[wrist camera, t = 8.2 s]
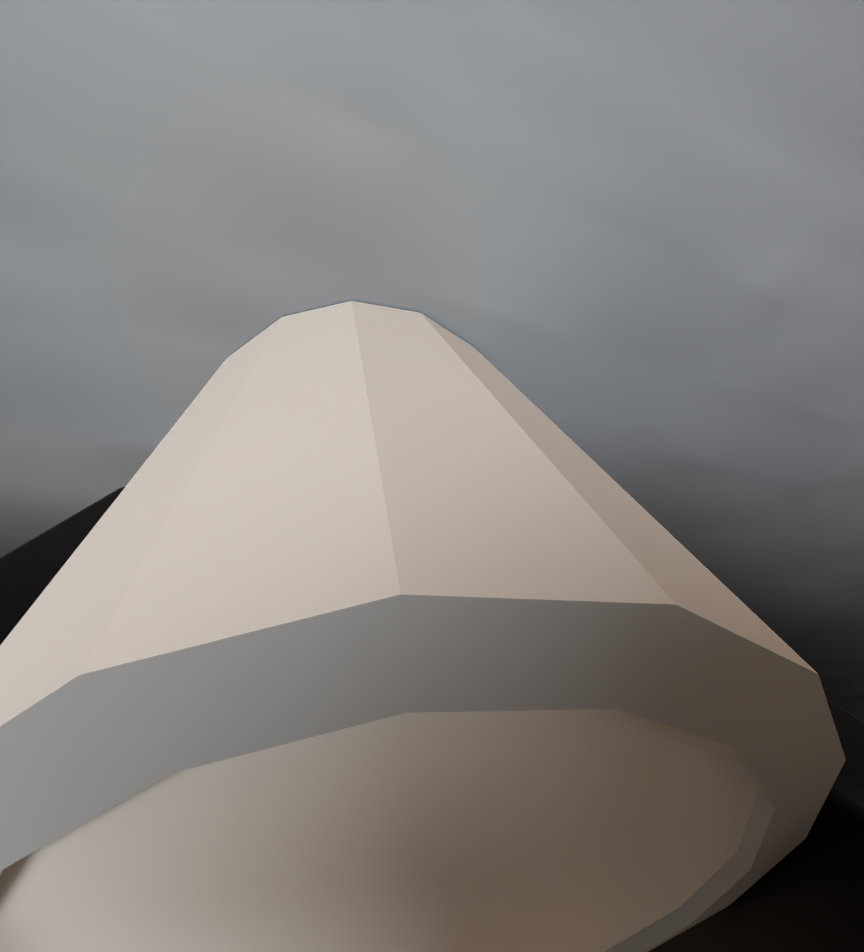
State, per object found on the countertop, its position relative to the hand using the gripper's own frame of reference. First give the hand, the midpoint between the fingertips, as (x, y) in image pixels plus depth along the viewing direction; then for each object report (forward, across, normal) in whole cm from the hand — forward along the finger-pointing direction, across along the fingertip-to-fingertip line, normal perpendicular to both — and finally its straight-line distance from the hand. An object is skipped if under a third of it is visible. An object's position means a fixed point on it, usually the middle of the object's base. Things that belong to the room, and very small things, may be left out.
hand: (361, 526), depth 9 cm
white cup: (+2, 0, 0) cm, 2 cm away
